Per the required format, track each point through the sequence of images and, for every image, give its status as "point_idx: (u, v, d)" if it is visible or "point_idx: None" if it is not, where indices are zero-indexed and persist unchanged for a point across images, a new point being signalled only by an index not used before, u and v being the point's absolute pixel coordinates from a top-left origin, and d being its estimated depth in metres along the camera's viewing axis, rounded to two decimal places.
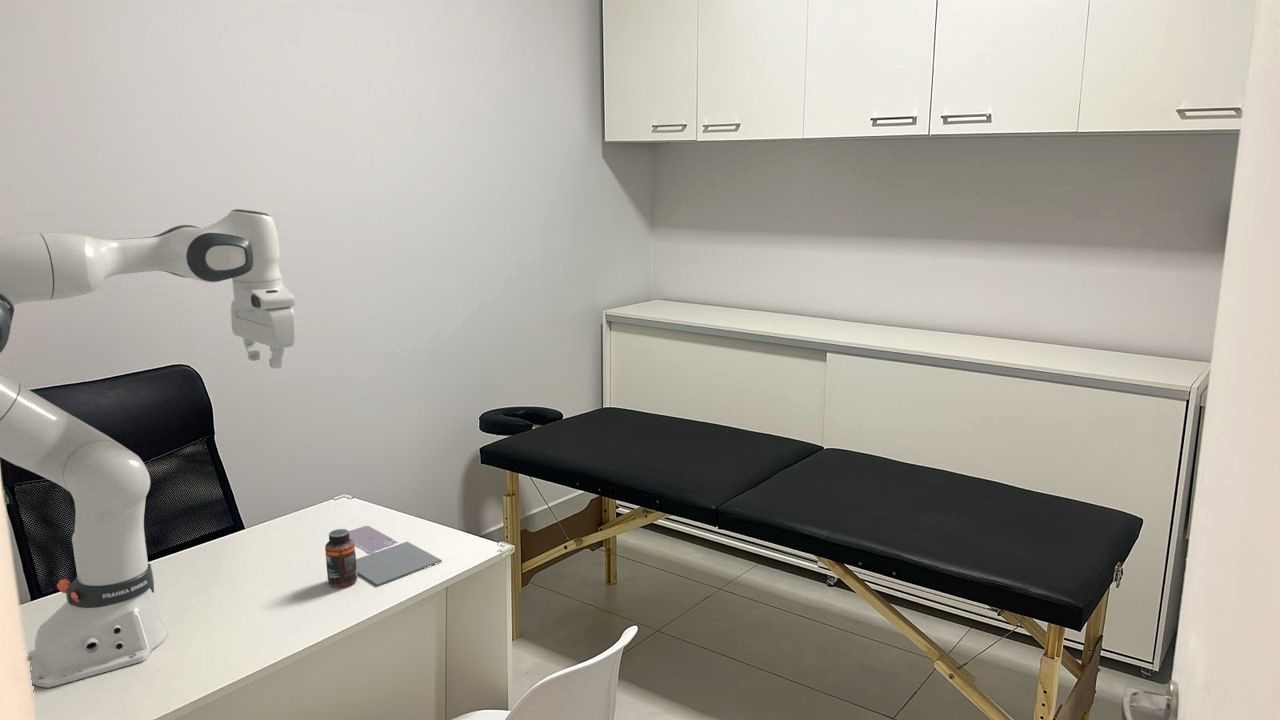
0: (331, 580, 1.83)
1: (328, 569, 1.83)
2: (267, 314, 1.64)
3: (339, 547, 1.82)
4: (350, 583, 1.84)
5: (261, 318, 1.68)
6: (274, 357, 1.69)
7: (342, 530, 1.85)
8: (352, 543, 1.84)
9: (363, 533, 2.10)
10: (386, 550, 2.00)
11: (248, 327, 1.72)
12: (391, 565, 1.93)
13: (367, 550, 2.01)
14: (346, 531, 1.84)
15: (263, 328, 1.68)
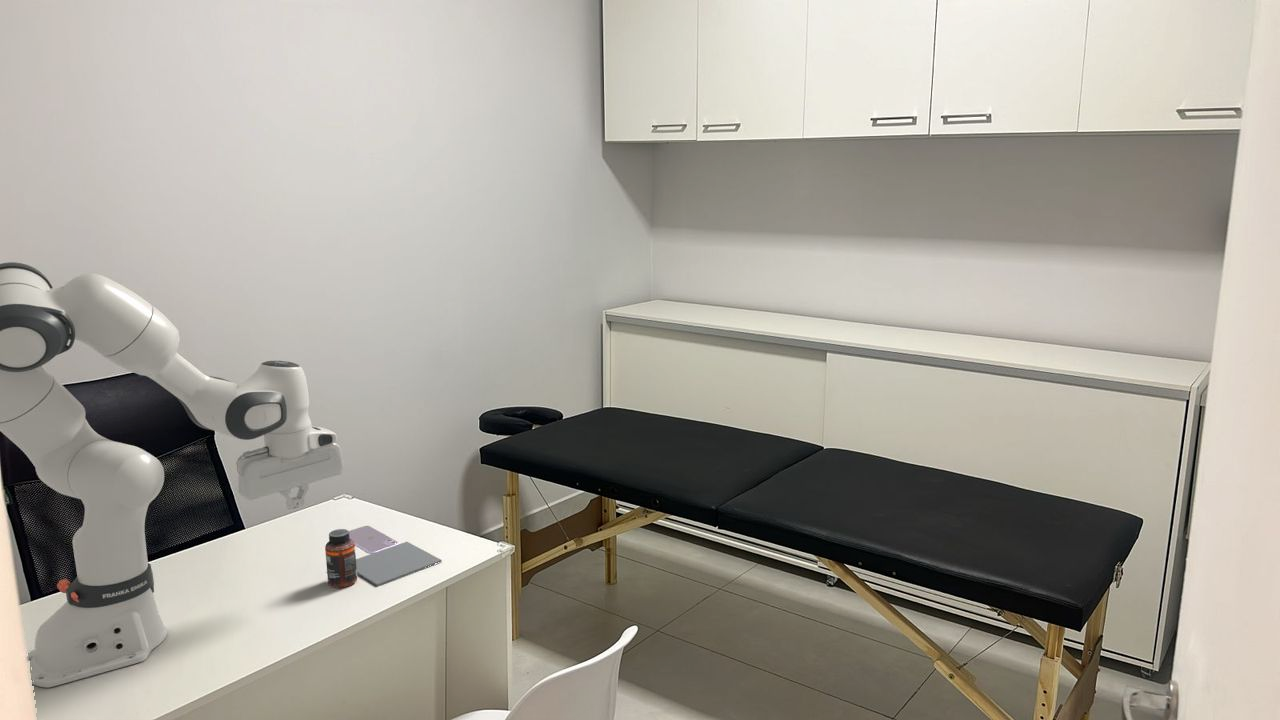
0: (331, 580, 1.83)
1: (328, 569, 1.83)
2: (337, 445, 1.78)
3: (339, 547, 1.82)
4: (350, 583, 1.84)
5: (312, 457, 1.75)
6: None
7: (342, 530, 1.85)
8: (352, 543, 1.84)
9: (363, 533, 2.10)
10: (386, 550, 2.00)
11: (287, 477, 1.72)
12: (391, 565, 1.93)
13: (367, 550, 2.01)
14: (346, 531, 1.84)
15: (319, 465, 1.76)
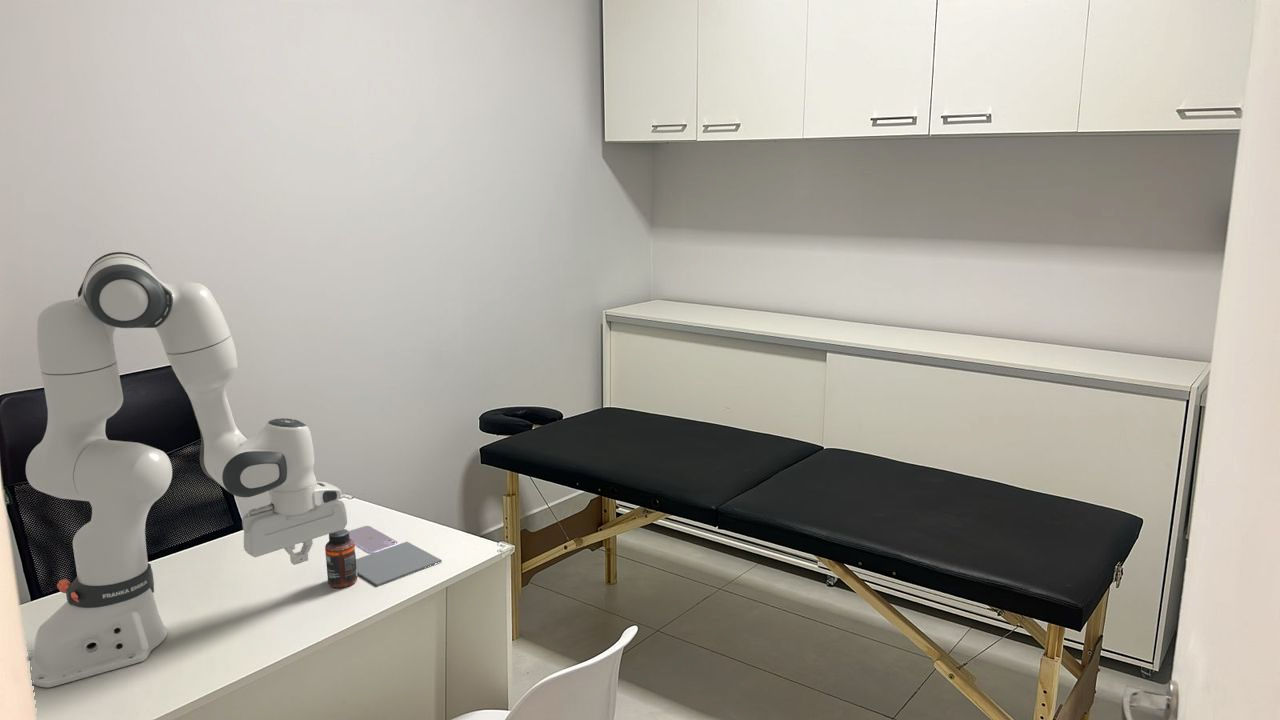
0: (331, 580, 1.83)
1: (328, 569, 1.83)
2: (341, 501, 1.80)
3: (339, 547, 1.82)
4: (350, 583, 1.84)
5: (317, 513, 1.78)
6: None
7: (342, 530, 1.85)
8: (352, 543, 1.84)
9: (363, 533, 2.10)
10: (386, 550, 2.00)
11: (292, 533, 1.74)
12: (391, 565, 1.93)
13: (367, 550, 2.01)
14: (346, 531, 1.84)
15: (323, 521, 1.79)
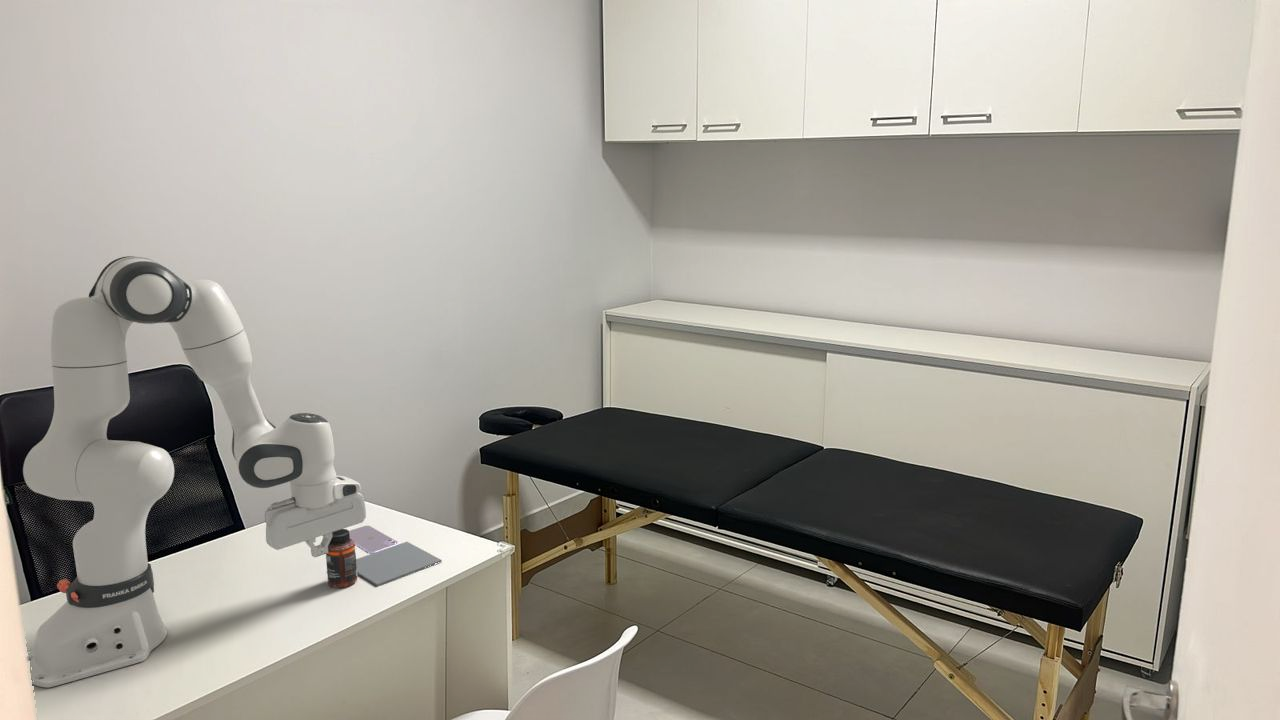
0: (331, 580, 1.83)
1: (328, 569, 1.83)
2: (360, 494, 1.83)
3: (339, 547, 1.82)
4: (350, 583, 1.84)
5: (336, 507, 1.81)
6: None
7: (343, 530, 1.85)
8: (352, 543, 1.84)
9: (363, 533, 2.10)
10: (386, 550, 2.00)
11: (312, 526, 1.77)
12: (391, 565, 1.93)
13: (367, 550, 2.01)
14: (346, 531, 1.84)
15: (342, 514, 1.82)
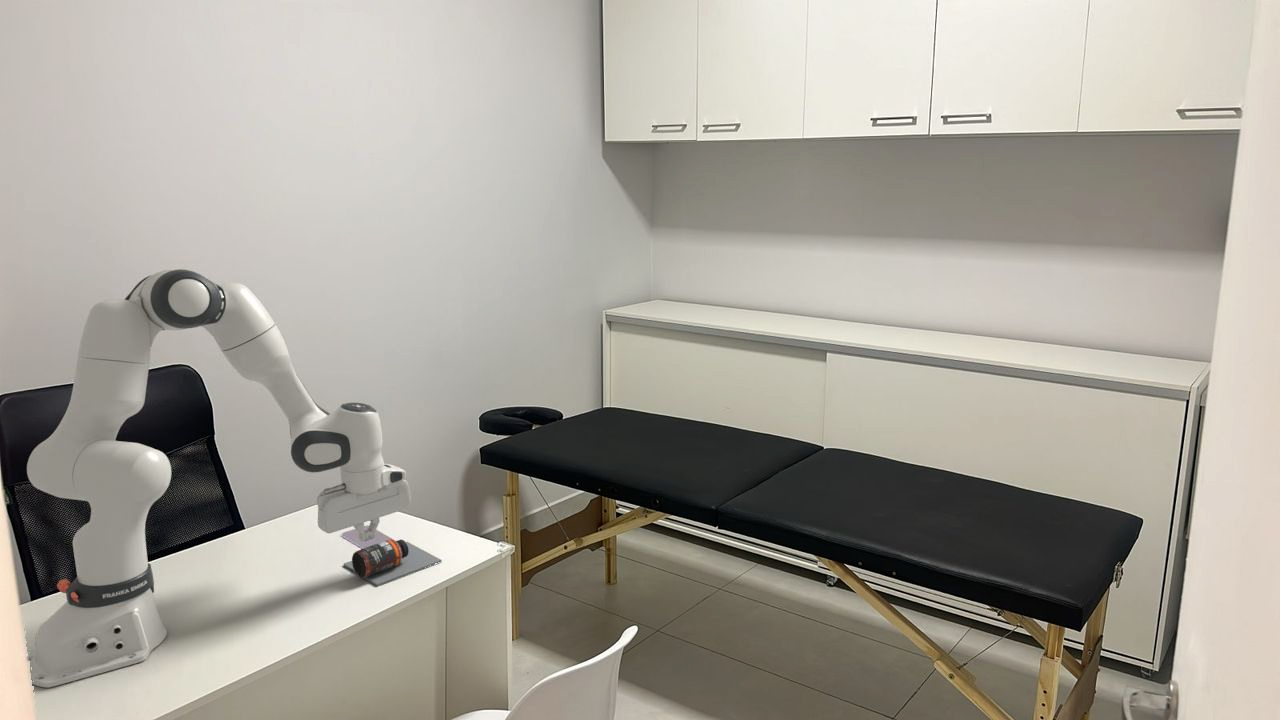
0: (370, 556, 1.86)
1: (377, 550, 1.88)
2: (405, 481, 1.91)
3: (401, 554, 1.92)
4: (368, 574, 1.86)
5: (383, 493, 1.89)
6: None
7: None
8: None
9: None
10: None
11: (361, 511, 1.85)
12: None
13: None
14: None
15: (389, 500, 1.90)
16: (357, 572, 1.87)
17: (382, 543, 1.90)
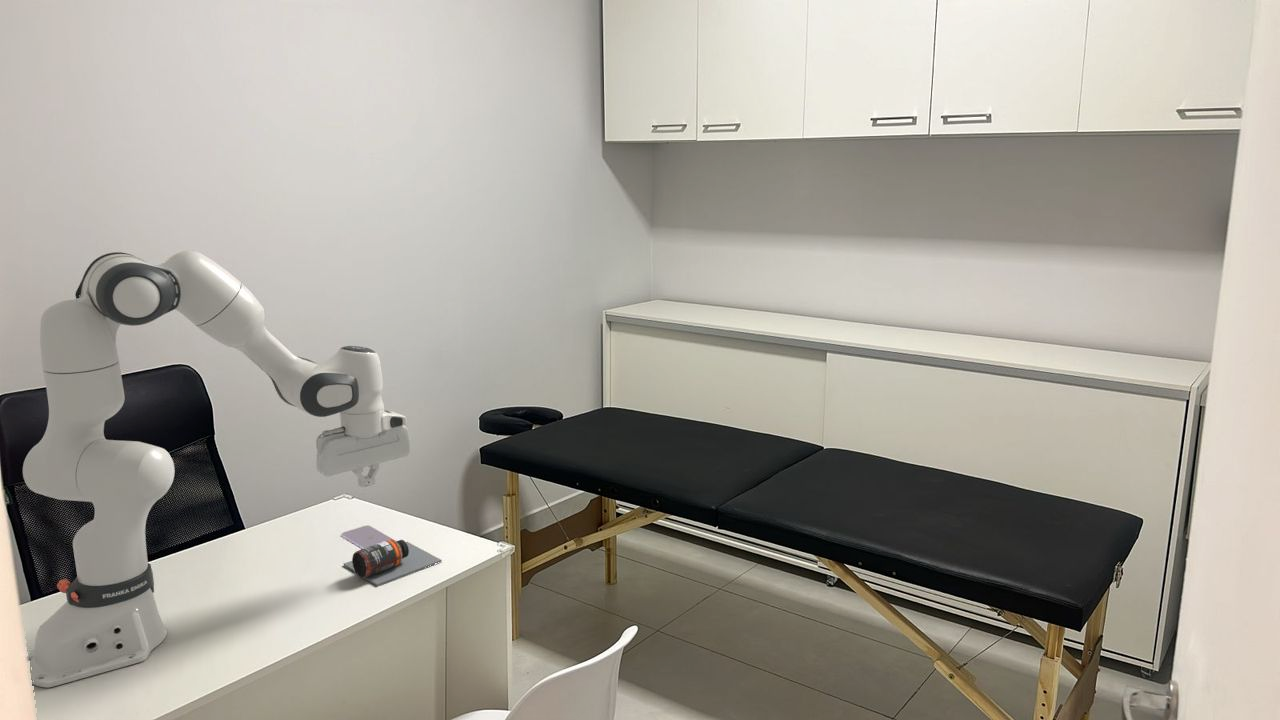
0: (370, 556, 1.86)
1: (378, 550, 1.88)
2: (406, 428, 1.89)
3: (401, 555, 1.91)
4: (368, 574, 1.86)
5: (383, 439, 1.86)
6: None
7: None
8: None
9: (363, 533, 2.10)
10: None
11: (361, 456, 1.83)
12: None
13: None
14: None
15: (389, 446, 1.87)
16: (357, 572, 1.87)
17: (383, 543, 1.90)
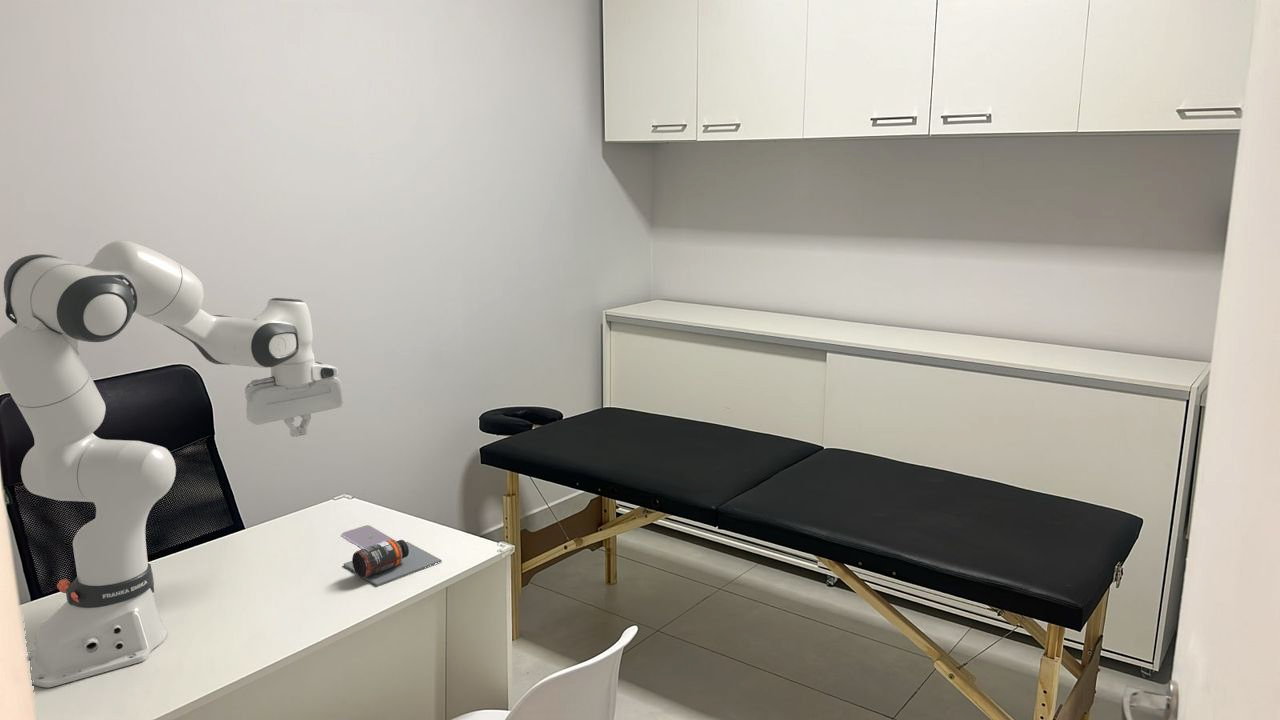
0: (370, 556, 1.86)
1: (378, 550, 1.88)
2: (337, 379, 1.92)
3: (401, 555, 1.91)
4: (368, 574, 1.86)
5: (315, 389, 1.89)
6: None
7: None
8: None
9: (363, 532, 2.10)
10: None
11: (291, 405, 1.86)
12: None
13: None
14: None
15: (321, 397, 1.90)
16: (357, 572, 1.87)
17: (383, 543, 1.90)
